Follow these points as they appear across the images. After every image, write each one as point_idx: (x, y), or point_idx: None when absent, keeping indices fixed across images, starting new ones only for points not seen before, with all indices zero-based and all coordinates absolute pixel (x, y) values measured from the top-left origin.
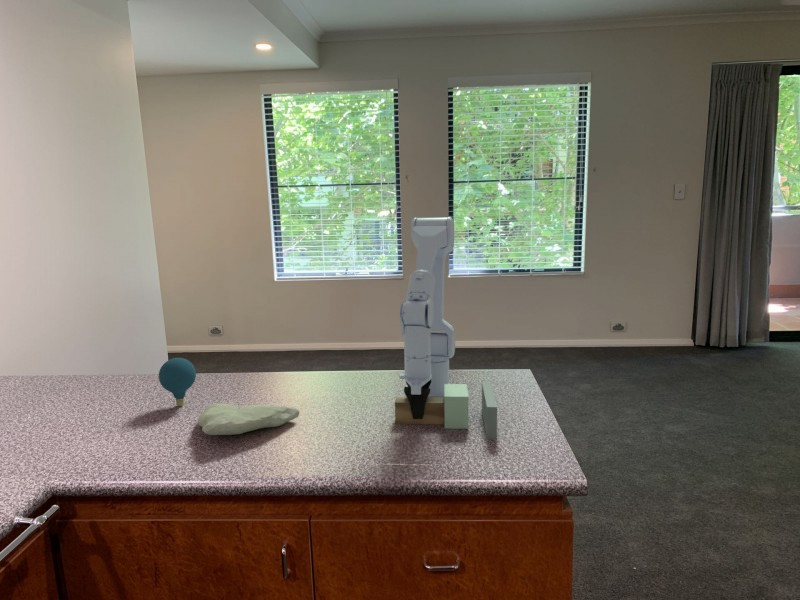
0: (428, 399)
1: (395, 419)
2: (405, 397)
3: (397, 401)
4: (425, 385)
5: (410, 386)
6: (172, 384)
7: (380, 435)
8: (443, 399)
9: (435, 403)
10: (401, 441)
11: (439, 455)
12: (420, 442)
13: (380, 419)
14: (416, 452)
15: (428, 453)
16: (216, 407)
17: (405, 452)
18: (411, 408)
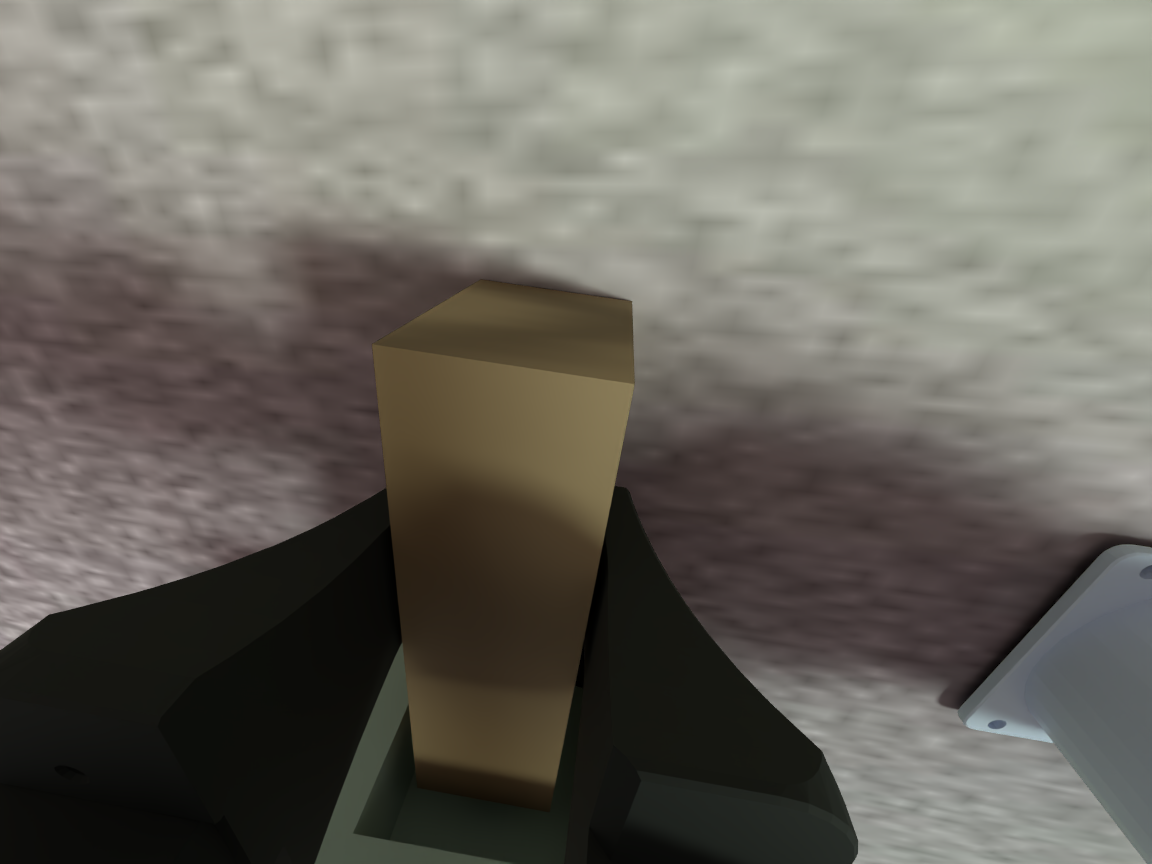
0: (502, 693)
1: (465, 291)
2: (591, 506)
3: (420, 388)
4: (568, 860)
5: (599, 716)
6: None
7: (212, 112)
8: (501, 773)
9: (410, 714)
10: (159, 314)
11: (70, 513)
12: (191, 441)
13: (625, 103)
14: (42, 402)
15: (65, 465)
16: None
17: (4, 332)
18: (359, 508)
